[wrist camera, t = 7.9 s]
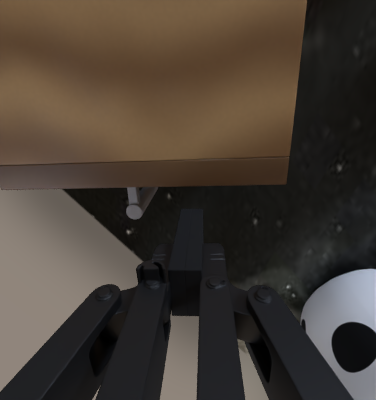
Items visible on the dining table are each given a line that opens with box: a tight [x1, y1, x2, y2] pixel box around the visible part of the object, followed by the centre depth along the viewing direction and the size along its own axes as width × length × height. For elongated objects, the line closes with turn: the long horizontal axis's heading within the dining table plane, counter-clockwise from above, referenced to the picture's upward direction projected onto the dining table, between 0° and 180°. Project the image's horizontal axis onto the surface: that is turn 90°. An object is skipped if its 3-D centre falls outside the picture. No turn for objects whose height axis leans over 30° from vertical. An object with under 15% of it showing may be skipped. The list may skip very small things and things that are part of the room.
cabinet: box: [0, 0, 307, 190], centre depth 20 cm, size 14×20×13 cm
